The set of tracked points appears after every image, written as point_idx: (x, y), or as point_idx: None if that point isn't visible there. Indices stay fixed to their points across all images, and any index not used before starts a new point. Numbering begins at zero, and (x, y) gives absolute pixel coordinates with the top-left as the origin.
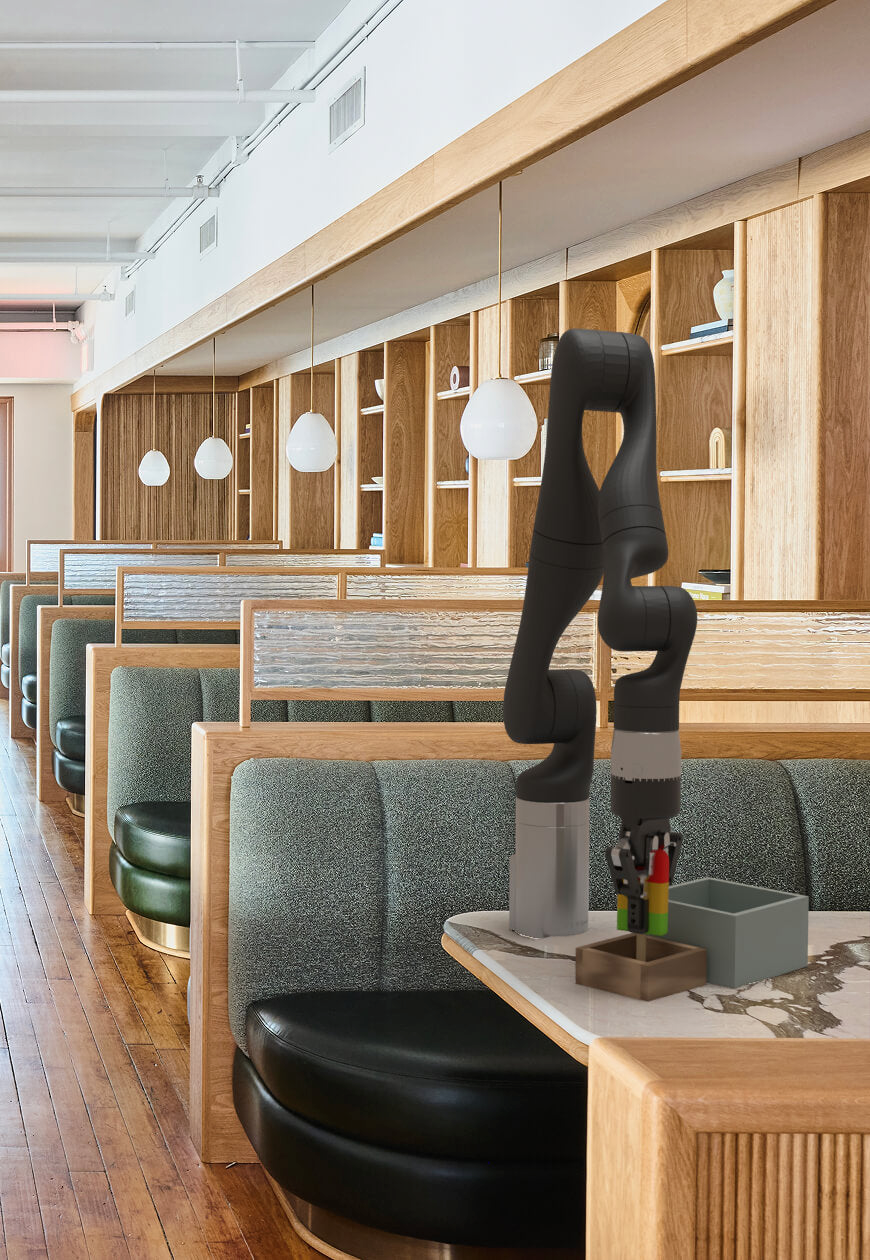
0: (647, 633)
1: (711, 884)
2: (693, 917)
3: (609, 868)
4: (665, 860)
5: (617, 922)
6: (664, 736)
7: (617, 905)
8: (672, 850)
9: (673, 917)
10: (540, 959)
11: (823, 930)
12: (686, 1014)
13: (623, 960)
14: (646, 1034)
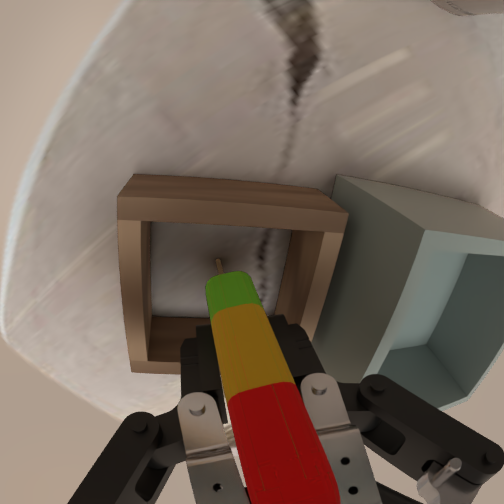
0: None
1: None
2: (347, 374)
3: (75, 495)
4: None
5: (207, 295)
6: None
7: (215, 325)
8: (416, 476)
9: (360, 328)
10: (249, 5)
11: None
12: (146, 374)
13: (125, 327)
14: (54, 375)
